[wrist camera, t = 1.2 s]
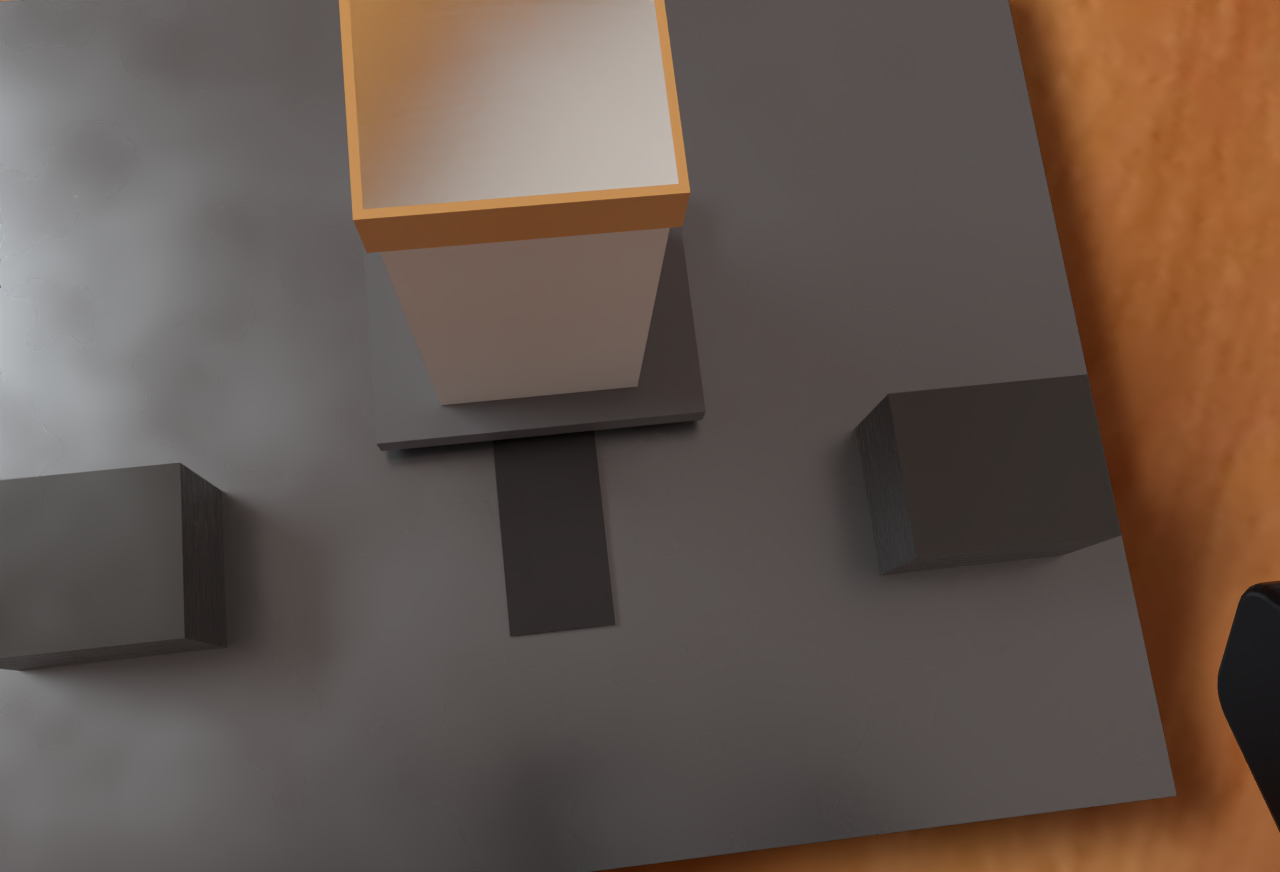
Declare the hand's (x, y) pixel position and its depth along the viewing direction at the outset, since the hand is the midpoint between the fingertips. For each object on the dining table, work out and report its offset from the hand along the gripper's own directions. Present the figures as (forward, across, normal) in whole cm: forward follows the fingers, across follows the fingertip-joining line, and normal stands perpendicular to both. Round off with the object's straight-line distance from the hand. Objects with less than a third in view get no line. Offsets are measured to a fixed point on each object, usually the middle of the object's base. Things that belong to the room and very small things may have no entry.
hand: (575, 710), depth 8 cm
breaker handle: (+12, 0, +3) cm, 12 cm away
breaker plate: (+12, 0, +5) cm, 13 cm away
